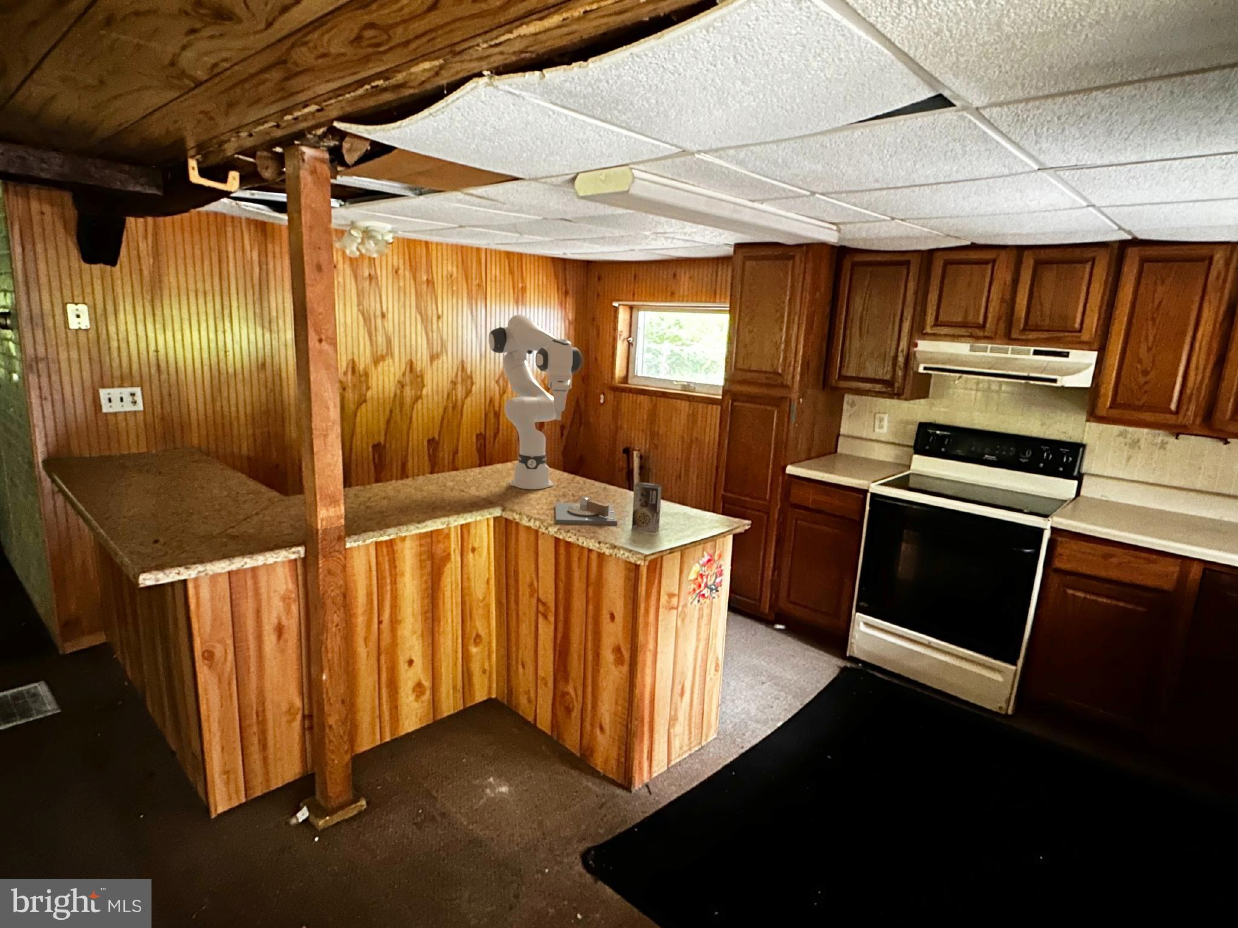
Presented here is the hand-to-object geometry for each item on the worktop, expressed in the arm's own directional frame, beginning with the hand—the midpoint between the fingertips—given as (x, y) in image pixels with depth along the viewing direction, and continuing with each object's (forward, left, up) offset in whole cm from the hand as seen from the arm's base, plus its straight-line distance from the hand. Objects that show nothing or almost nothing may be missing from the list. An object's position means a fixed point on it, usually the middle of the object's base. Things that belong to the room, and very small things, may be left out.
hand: (558, 419), depth 249 cm
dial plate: (+12, +11, -34) cm, 38 cm away
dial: (+14, +12, -32) cm, 37 cm away
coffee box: (+26, +32, -34) cm, 54 cm away
